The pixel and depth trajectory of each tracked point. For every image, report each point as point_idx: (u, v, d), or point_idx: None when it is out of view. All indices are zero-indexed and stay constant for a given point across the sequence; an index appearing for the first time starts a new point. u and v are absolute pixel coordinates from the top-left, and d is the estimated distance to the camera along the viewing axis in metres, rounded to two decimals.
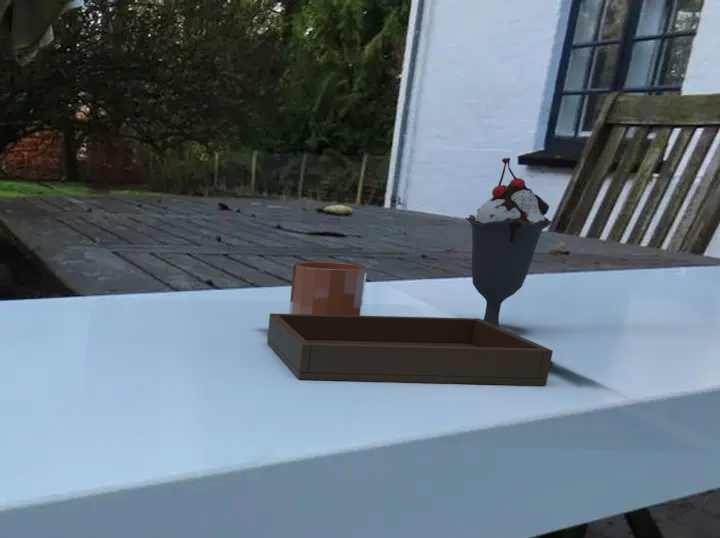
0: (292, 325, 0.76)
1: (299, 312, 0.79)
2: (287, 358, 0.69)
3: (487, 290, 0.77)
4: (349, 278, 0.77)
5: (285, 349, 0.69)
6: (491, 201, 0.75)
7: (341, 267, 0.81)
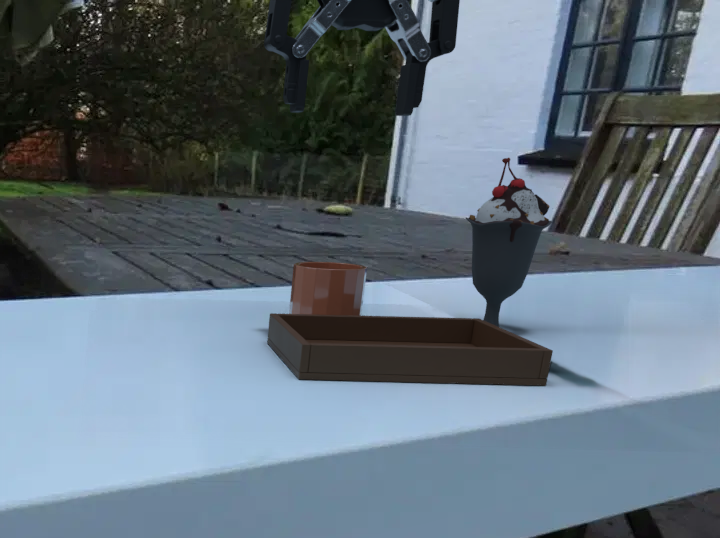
0: (292, 325, 0.76)
1: (299, 312, 0.79)
2: (287, 358, 0.69)
3: (487, 290, 0.77)
4: (349, 278, 0.77)
5: (285, 349, 0.69)
6: (491, 201, 0.75)
7: (341, 267, 0.81)
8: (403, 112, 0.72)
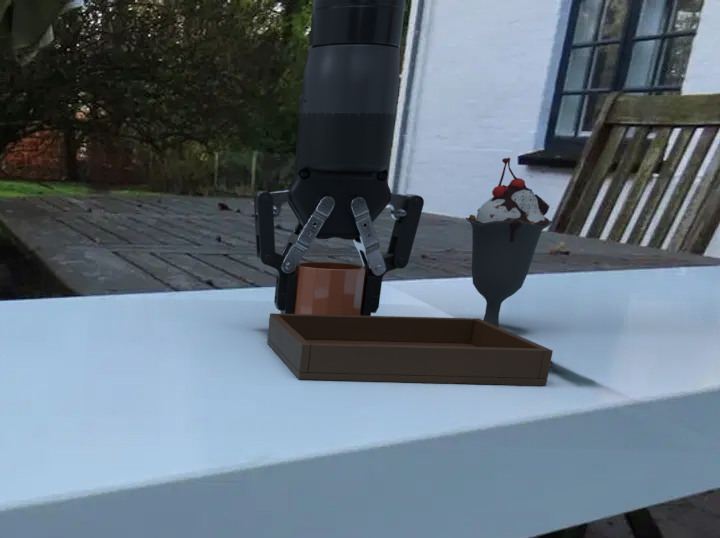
0: (292, 325, 0.76)
1: (299, 312, 0.79)
2: (287, 358, 0.69)
3: (487, 290, 0.77)
4: (349, 278, 0.77)
5: (285, 349, 0.69)
6: (491, 201, 0.75)
7: (341, 267, 0.81)
8: None
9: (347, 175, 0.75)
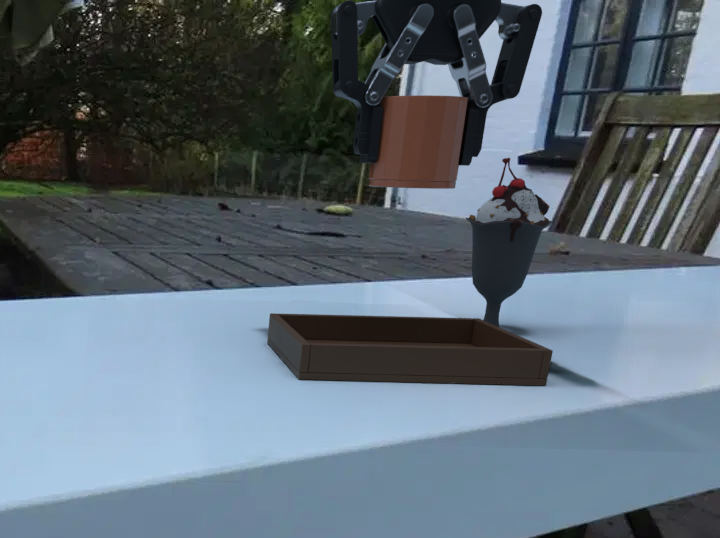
0: (292, 325, 0.76)
1: (385, 154, 0.65)
2: (287, 358, 0.69)
3: (487, 290, 0.77)
4: (449, 107, 0.63)
5: (285, 349, 0.69)
6: (491, 201, 0.75)
7: None
8: (460, 162, 0.66)
9: None
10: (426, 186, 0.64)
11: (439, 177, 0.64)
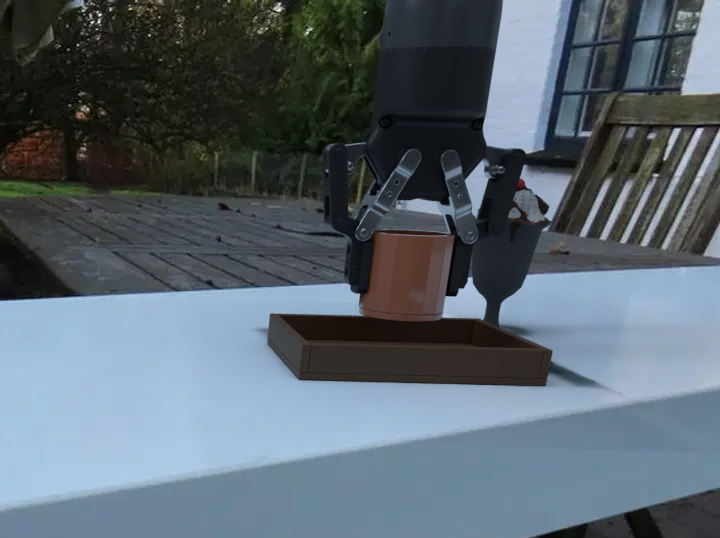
0: (292, 325, 0.76)
1: (375, 287, 0.67)
2: (287, 358, 0.69)
3: (487, 290, 0.77)
4: (437, 246, 0.65)
5: (285, 349, 0.69)
6: None
7: (421, 235, 0.69)
8: (447, 294, 0.68)
9: (437, 123, 0.64)
10: (414, 320, 0.66)
11: (427, 311, 0.66)
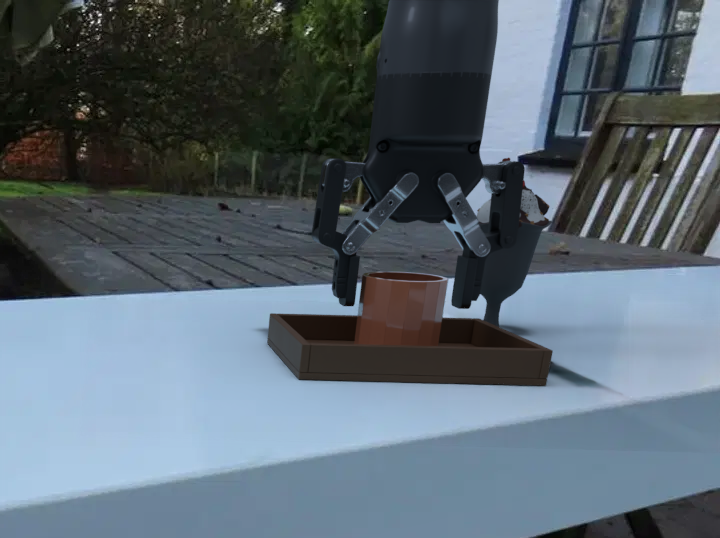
0: (292, 325, 0.76)
1: (369, 330, 0.68)
2: (287, 358, 0.69)
3: (487, 290, 0.77)
4: (430, 291, 0.66)
5: (285, 349, 0.69)
6: None
7: (415, 278, 0.70)
8: (460, 306, 0.68)
9: (434, 147, 0.65)
10: None
11: None
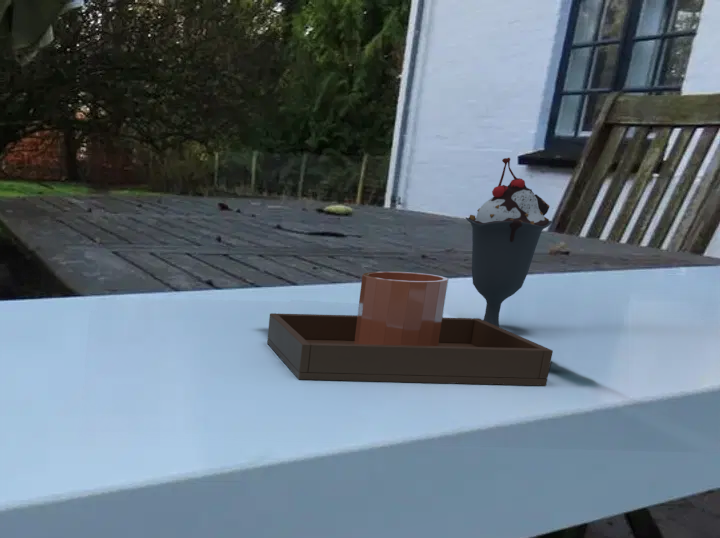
0: (292, 325, 0.76)
1: (369, 330, 0.68)
2: (287, 358, 0.69)
3: (487, 290, 0.77)
4: (430, 291, 0.66)
5: (285, 349, 0.69)
6: (491, 201, 0.75)
7: (415, 278, 0.70)
8: None
9: None
10: None
11: None
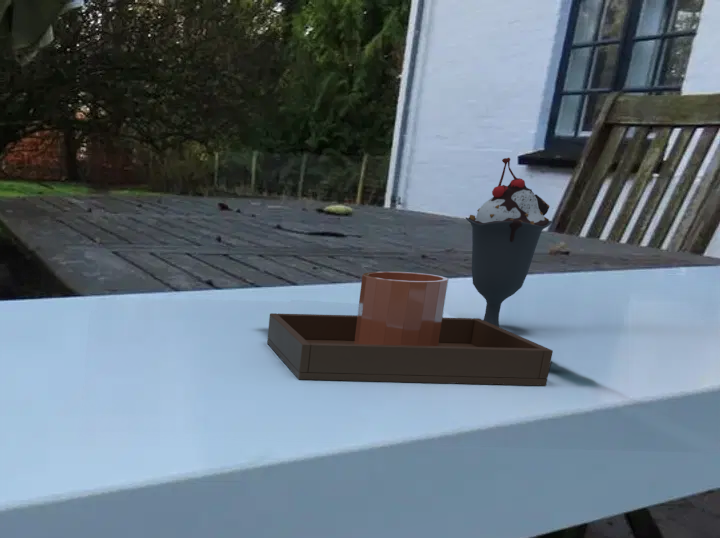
0: (292, 325, 0.76)
1: (369, 330, 0.68)
2: (287, 358, 0.69)
3: (487, 290, 0.77)
4: (430, 291, 0.66)
5: (285, 349, 0.69)
6: (491, 201, 0.75)
7: (415, 278, 0.70)
8: None
9: None
10: None
11: None
